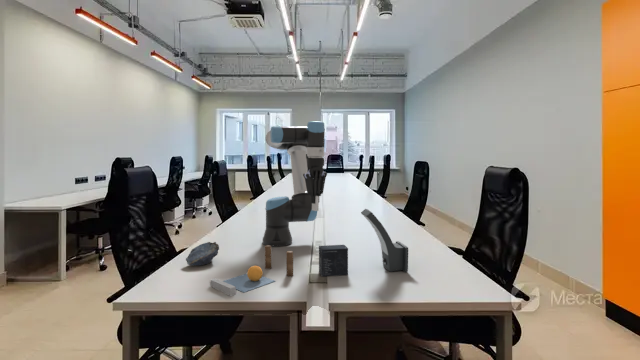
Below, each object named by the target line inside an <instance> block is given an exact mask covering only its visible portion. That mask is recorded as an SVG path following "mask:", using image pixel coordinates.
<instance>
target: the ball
mask: <svg viewBox="0 0 640 360" xmlns="http://www.w3.org/2000/svg"><path fill="white" fill-rule="evenodd" d="M246 274H247V276H248V278H249V279H250V280H251V281H258V280H259V279H261V277H262V276H263V270H262V268H261V267H260V266H259V265H252V266H250V267H249V268H248V270H247V273H246Z"/></svg>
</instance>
